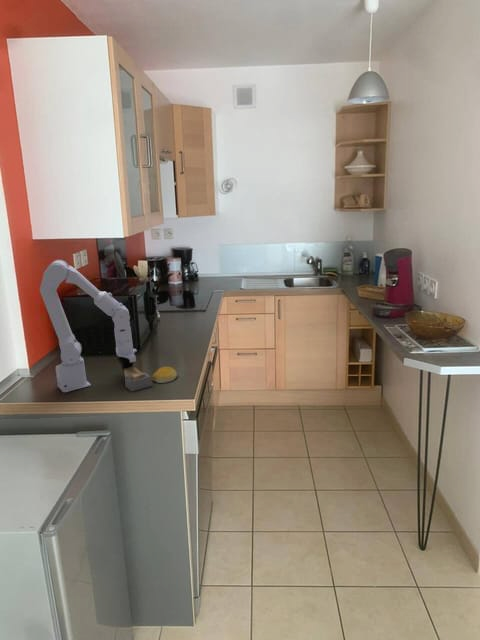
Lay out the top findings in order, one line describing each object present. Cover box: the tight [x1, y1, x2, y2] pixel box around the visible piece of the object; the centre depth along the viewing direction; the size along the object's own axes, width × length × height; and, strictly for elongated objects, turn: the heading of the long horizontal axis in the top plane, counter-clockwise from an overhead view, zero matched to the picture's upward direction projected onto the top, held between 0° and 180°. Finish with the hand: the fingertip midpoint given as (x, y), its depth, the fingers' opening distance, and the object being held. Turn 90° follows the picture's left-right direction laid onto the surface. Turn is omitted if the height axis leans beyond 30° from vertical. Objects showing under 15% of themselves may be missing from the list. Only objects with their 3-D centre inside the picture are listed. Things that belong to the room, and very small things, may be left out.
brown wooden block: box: [123, 366, 145, 380], centre depth 165 cm, size 4×10×4 cm, turn 34°
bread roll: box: [151, 366, 178, 384], centre depth 168 cm, size 8×9×4 cm
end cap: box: [124, 371, 153, 392], centre depth 162 cm, size 7×6×4 cm
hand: (128, 375), depth 170 cm, fingers closed
